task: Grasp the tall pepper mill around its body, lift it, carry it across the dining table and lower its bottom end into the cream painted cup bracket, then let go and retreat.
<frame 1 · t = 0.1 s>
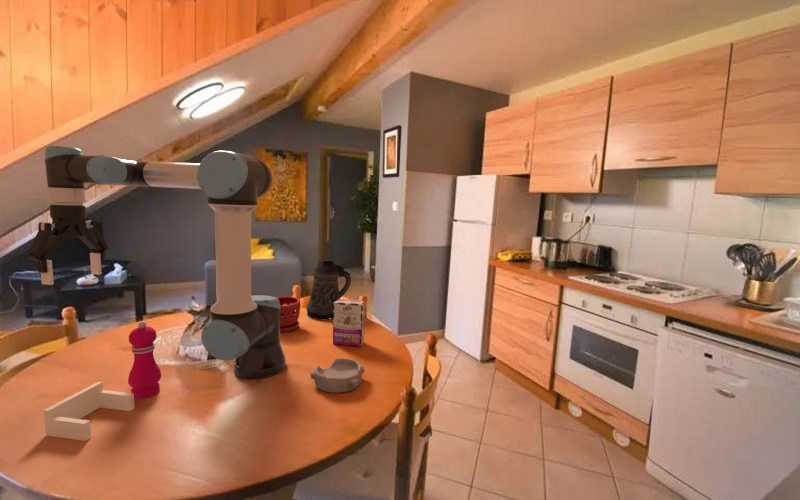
hand: (73, 279, 102), 28 cm above the table, fingers open, 13 cm apart
beer stein: (326, 314, 169), on the table
pepper mill: (145, 393, 96), on the table
dish: (339, 383, 107), on the table
candy bar box: (348, 343, 136), on the table
plant pot: (283, 328, 148), on the table
bracket: (92, 421, 84), on the table
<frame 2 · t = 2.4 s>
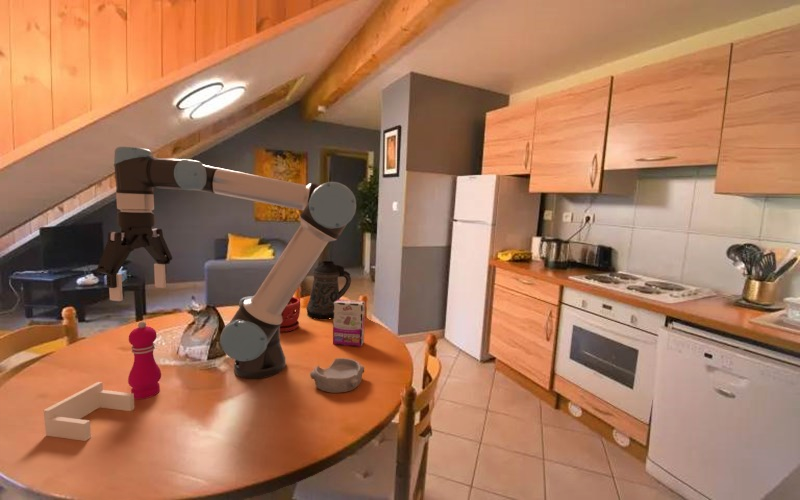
hand: (140, 293, 93), 28 cm above the table, fingers open, 13 cm apart
nothing on the table moved.
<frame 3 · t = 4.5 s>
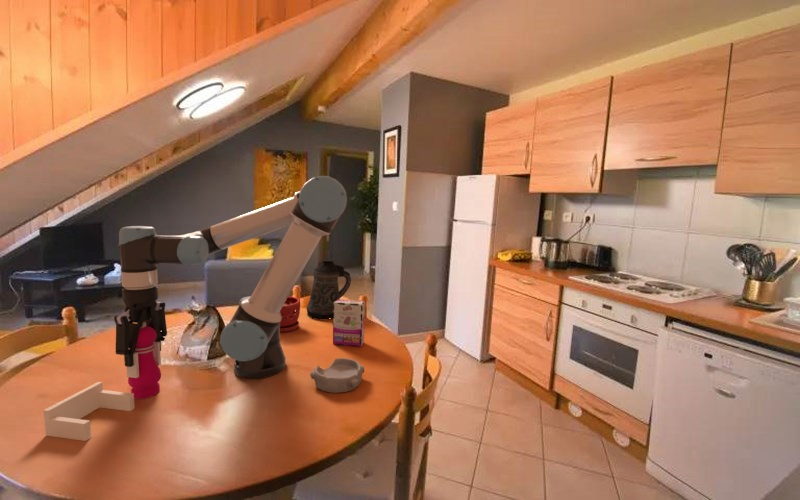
hand: (144, 370, 95), 6 cm above the table, fingers closed on pepper mill, 6 cm apart
pepper mill: (145, 393, 96), on the table, touching gripper
everything else where it was.
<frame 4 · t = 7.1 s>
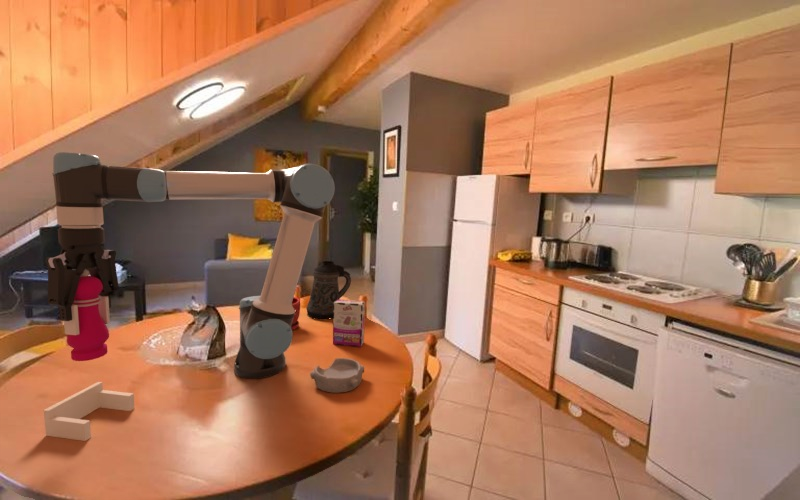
hand: (88, 328, 81), 23 cm above the table, fingers closed on pepper mill, 6 cm apart
pepper mill: (90, 356, 81), point 16 cm above the table, touching gripper
everything else where it was.
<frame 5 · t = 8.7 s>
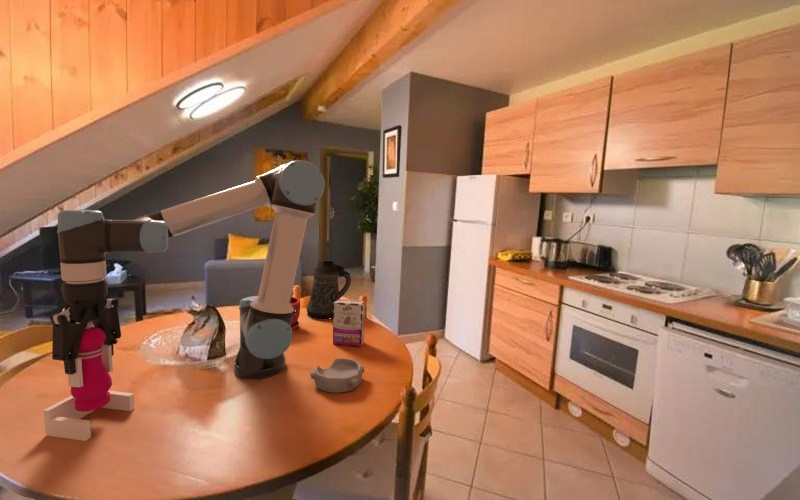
hand: (91, 377, 82), 11 cm above the table, fingers closed on pepper mill, 6 cm apart
pepper mill: (93, 405, 83), point 4 cm above the table, touching gripper
everything else where it was.
when the fingers open (8 cm above the table, at t = 9.6 s): pepper mill drops 1 cm, on the table.
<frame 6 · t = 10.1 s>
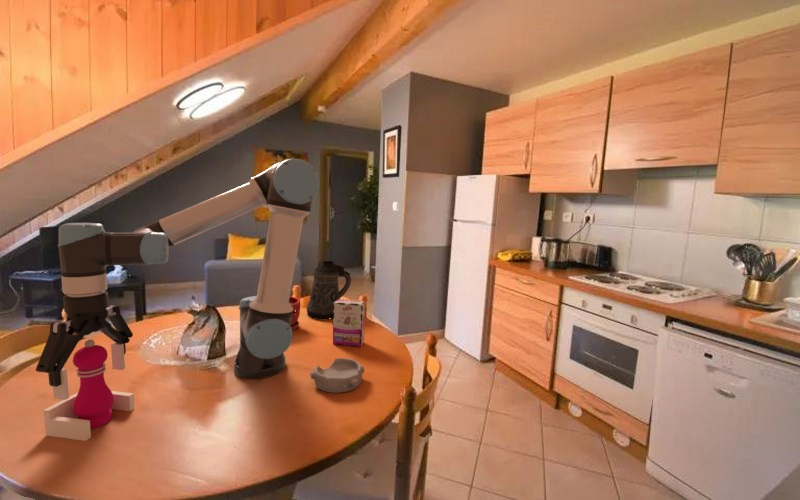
hand: (92, 382, 82), 10 cm above the table, fingers open, 13 cm apart
pepper mill: (95, 422, 84), on the table
everything else where it was.
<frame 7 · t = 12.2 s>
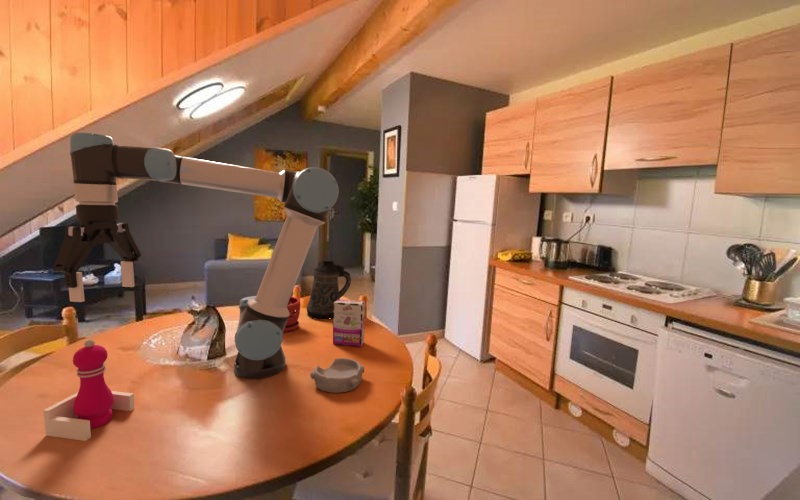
hand: (105, 293, 85), 29 cm above the table, fingers open, 13 cm apart
nothing on the table moved.
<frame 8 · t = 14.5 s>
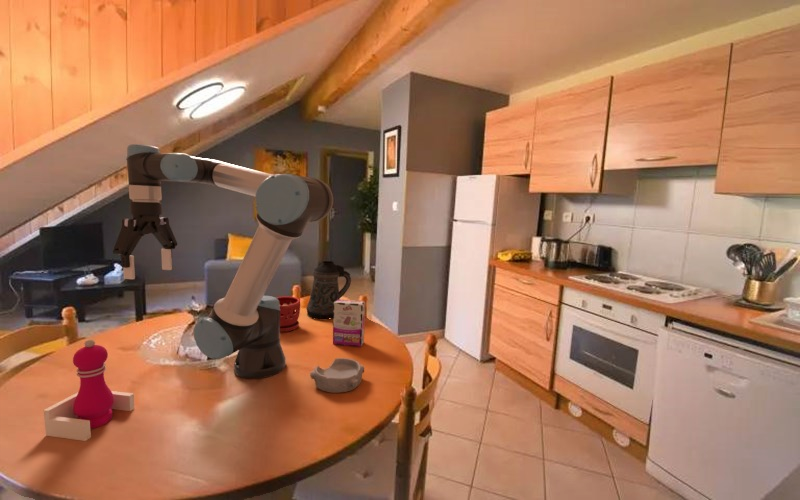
hand: (149, 274, 105), 30 cm above the table, fingers open, 13 cm apart
nothing on the table moved.
at the end: pepper mill 0.7 cm from the bracket (horizontally); pepper mill tilted 0°; the gripper is holding nothing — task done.
